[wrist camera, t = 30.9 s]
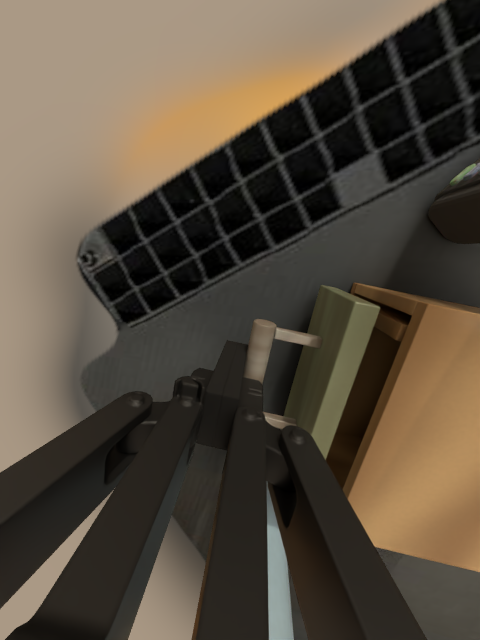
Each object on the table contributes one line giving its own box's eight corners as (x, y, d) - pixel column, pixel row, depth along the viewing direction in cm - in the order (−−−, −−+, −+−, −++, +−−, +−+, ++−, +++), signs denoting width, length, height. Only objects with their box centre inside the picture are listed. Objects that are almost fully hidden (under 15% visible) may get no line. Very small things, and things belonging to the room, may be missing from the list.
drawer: (232, 414, 21) (218, 486, 14) (262, 272, 17) (263, 282, 11) (438, 461, 20) (522, 558, 14) (510, 323, 17) (665, 365, 10)
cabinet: (305, 431, 21) (331, 537, 13) (353, 282, 18) (428, 303, 10) (469, 468, 21) (600, 601, 13) (552, 322, 17) (804, 380, 9)
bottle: (244, 440, 22) (201, 898, 6) (290, 467, 23) (357, 967, 7) (218, 475, 24) (126, 928, 8) (261, 500, 24) (259, 984, 8)
